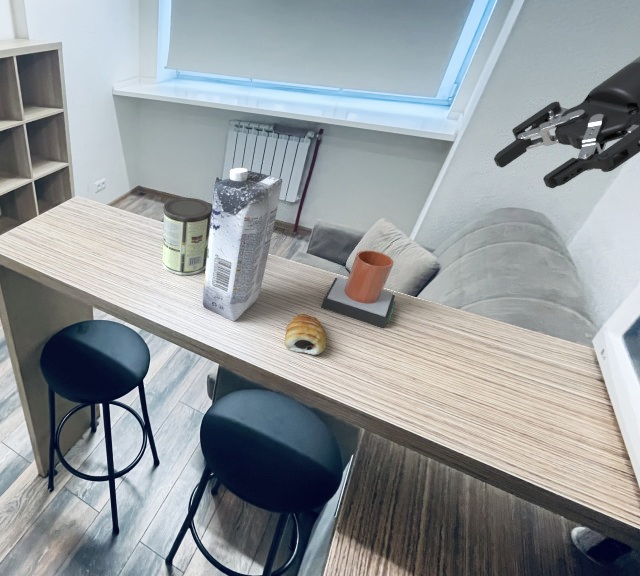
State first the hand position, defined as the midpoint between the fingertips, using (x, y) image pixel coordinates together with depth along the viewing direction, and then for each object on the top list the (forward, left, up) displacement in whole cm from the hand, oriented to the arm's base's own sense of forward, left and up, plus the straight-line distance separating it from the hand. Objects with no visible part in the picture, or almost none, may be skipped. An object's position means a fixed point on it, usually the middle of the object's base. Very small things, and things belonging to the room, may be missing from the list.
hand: (520, 172), depth 59 cm
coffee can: (+45, +21, -29) cm, 58 cm away
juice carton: (+28, +25, -29) cm, 47 cm away
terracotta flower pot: (+12, +6, -26) cm, 29 cm away
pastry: (+13, +23, -29) cm, 39 cm away
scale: (+12, +6, -29) cm, 32 cm away
